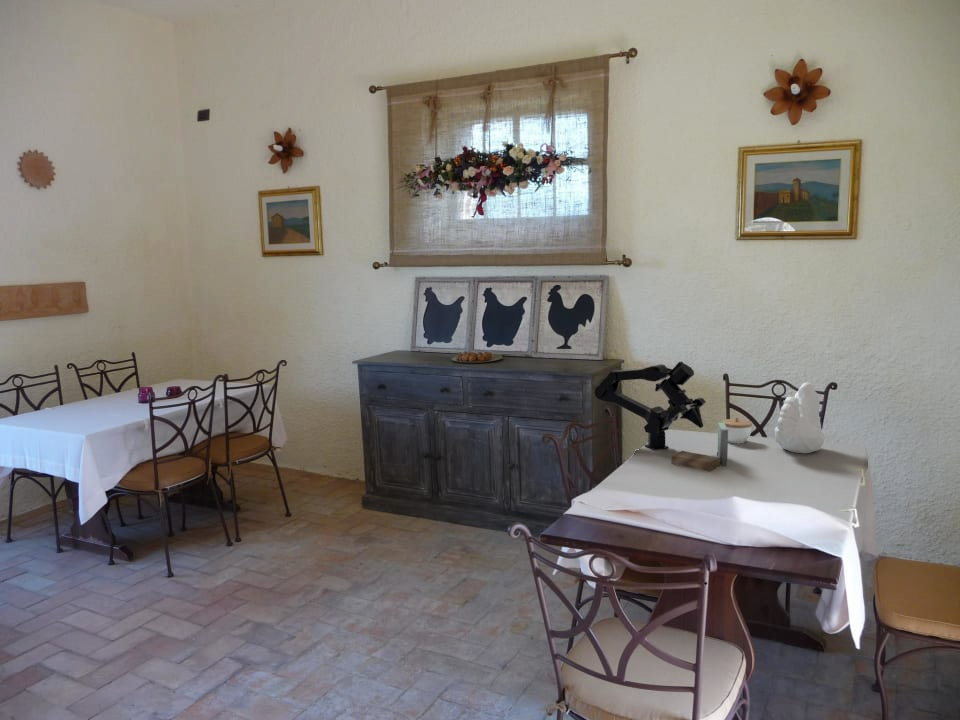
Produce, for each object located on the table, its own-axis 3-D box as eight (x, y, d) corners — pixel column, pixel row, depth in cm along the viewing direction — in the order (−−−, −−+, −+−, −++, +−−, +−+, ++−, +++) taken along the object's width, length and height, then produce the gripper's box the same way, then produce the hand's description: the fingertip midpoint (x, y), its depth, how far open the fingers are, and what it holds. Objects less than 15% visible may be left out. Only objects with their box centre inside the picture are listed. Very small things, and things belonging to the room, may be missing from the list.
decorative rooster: (795, 442, 269) (798, 377, 266) (834, 451, 256) (837, 383, 253) (751, 452, 257) (753, 384, 254) (789, 462, 244) (792, 390, 240)
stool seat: (671, 463, 245) (671, 455, 244) (682, 459, 250) (682, 450, 250) (709, 471, 235) (710, 462, 235) (720, 466, 240) (720, 457, 240)
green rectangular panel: (727, 465, 240) (728, 430, 238) (720, 465, 240) (720, 430, 238) (723, 455, 252) (724, 422, 251) (716, 454, 253) (717, 421, 251)
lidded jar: (715, 439, 276) (716, 416, 274) (739, 437, 279) (739, 413, 278) (733, 446, 265) (734, 421, 264) (757, 443, 269) (758, 419, 267)
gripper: (672, 402, 270) (699, 435, 264) (646, 410, 257) (674, 445, 251) (692, 384, 263) (719, 417, 257) (666, 391, 250) (695, 426, 244)
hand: (702, 427), depth 252 cm, fingers closed
